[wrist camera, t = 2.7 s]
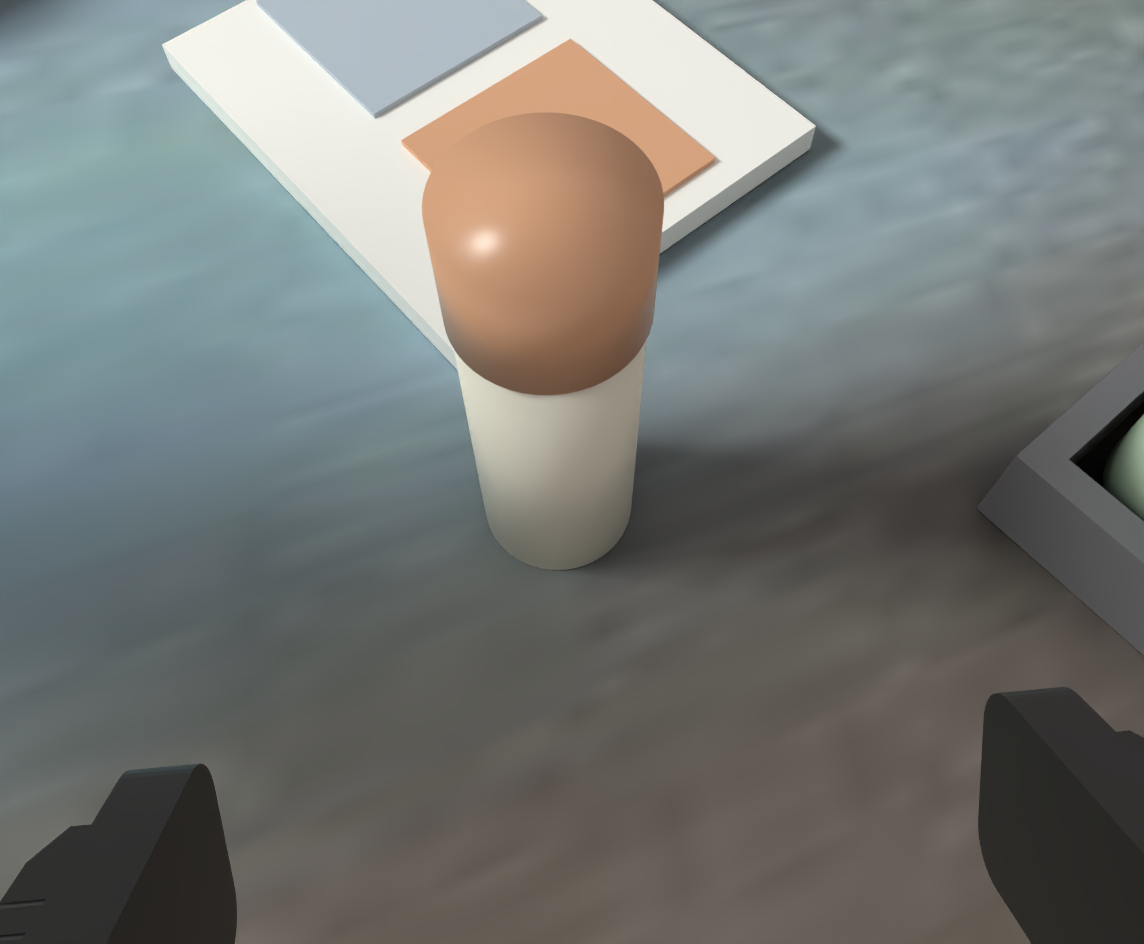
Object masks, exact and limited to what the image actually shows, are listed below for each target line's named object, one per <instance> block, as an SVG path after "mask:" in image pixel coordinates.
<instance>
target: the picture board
mask: <svg viewBox="0 0 1144 944" xmlns="http://www.w3.org/2000/svg"><path fill="white" fill-rule="evenodd" d="M162 46H163V49H164V51H165V53H166V56H167V58H168V60H169V63H170V65H171V67H172V69H173V70H174V71H175V72H176V73H177V74H178V75H179V76H180V77H181V78H182V79H183V81H184V82H185V83H186V84H187V85H188V86H189V87H190V88H191V89H192V90H193V91H194V92H195V93H196V94H197V95H198V96H199V97H200V98H201V100H202V101H203V102H204V103H205V104H206V105H207V106H208V107H209V108H210V109H211V110H212V111H213V112H214V113H215V114H216V115H217V116H218V117H219V119H220V120H221V121H222V122H223V123H224V124H225V125H226V126H227V127H228V128H229V129H230V130H231V131H232V132H233V133H234V134H235V135H236V136H237V138H238V139H239V140H240V141H241V142H242V143H243V144H244V145H245V146H246V147H247V148H248V149H249V150H250V151H251V152H252V153H253V154H254V156H255V157H256V158H257V159H258V160H259V161H260V162H261V163H262V164H263V165H264V166H265V167H266V168H267V169H268V170H269V171H270V172H271V173H272V175H273V176H274V177H275V178H276V179H277V180H278V181H279V182H280V183H281V184H282V185H283V186H284V187H285V188H286V189H287V190H288V191H289V192H290V194H291V195H292V196H293V197H294V198H295V199H296V200H297V201H298V202H299V203H300V204H301V205H302V206H303V207H304V208H305V209H306V210H307V212H308V213H309V214H310V215H311V216H312V217H313V218H314V219H315V220H316V221H317V222H318V223H319V224H320V225H321V226H322V227H323V228H324V229H325V231H326V232H327V233H328V234H329V235H330V236H331V237H332V238H333V239H334V240H335V241H336V242H337V243H338V244H339V245H340V246H341V247H342V248H343V250H344V251H345V252H346V253H347V254H348V255H349V256H350V257H351V258H352V259H353V260H354V261H355V262H356V263H357V264H358V265H359V266H360V268H361V269H362V270H363V271H364V272H365V273H366V274H367V275H368V276H369V277H370V278H371V279H372V280H373V281H374V282H375V283H376V284H377V285H378V287H379V288H380V289H381V290H382V291H383V292H384V293H385V294H386V295H387V296H388V297H389V298H390V299H391V300H392V301H393V302H394V303H395V304H396V306H397V307H398V308H399V309H400V310H401V311H402V312H403V313H404V314H405V315H406V316H407V317H408V318H409V319H410V320H411V321H412V322H413V324H414V325H415V326H416V327H417V328H418V329H419V330H420V331H421V332H422V333H423V334H424V335H425V336H426V337H427V338H428V339H429V340H430V341H431V343H432V344H433V345H434V346H435V347H436V348H437V349H438V350H439V351H440V352H441V353H442V354H443V355H444V356H445V357H446V358H447V359H448V360H449V362H450V363H451V364H452V365H453V366H454V367H455V368H456V369H457V370H458V368H457V363H456V358H455V353H454V348H453V347H452V345H451V343H450V341H449V339H448V336H447V334H446V331H445V327H444V323H443V318H442V313H441V308H440V303H439V298H438V293H437V288H436V283H435V278H434V273H433V268H432V263H431V258H430V253H429V248H428V243H427V238H426V234H425V229H424V224H423V219H422V199H423V193H424V189H425V185H426V182H427V180H428V178H429V175H430V173H431V171H432V169H433V168H434V166H435V165H436V163H437V162H438V160H439V159H440V158H441V157H442V156H443V154H444V153H445V152H446V151H447V150H448V149H449V148H450V147H451V146H452V145H454V144H455V143H456V142H457V141H458V140H460V139H461V138H463V137H464V136H465V135H467V134H468V133H470V132H472V131H474V130H476V129H477V128H479V127H481V126H484V125H486V124H488V123H491V122H493V121H496V120H499V119H503V118H506V117H510V116H515V115H520V114H528V113H539V112H547V113H563V114H571V115H576V116H581V117H585V118H588V119H591V120H595V121H598V122H600V123H602V124H605V125H607V126H609V127H611V128H613V129H615V130H617V131H618V132H620V133H622V134H623V135H625V136H626V137H627V138H629V139H630V140H631V141H633V142H634V143H635V144H636V145H637V146H638V147H639V148H640V149H641V150H642V151H643V152H644V153H645V154H646V156H647V157H648V158H649V160H650V161H651V162H652V164H653V166H654V168H655V169H656V171H657V173H658V176H659V179H660V181H661V184H662V189H663V194H664V215H663V226H662V236H661V246H660V253H662V252H663V251H665V250H666V249H668V248H669V247H670V246H672V245H673V244H675V243H676V242H678V241H679V240H680V239H682V238H683V237H685V236H686V235H688V234H689V233H691V232H692V231H693V230H695V229H696V228H698V227H699V226H701V225H702V224H703V223H705V222H706V221H708V220H709V219H711V218H712V217H713V216H715V215H716V214H718V213H719V212H721V211H722V210H723V209H725V208H726V207H728V206H729V205H731V204H732V203H733V202H735V201H736V200H738V199H739V198H741V197H742V196H743V195H745V194H746V193H748V192H749V191H751V190H752V189H753V188H755V187H756V186H758V185H759V184H761V183H762V182H763V181H765V180H766V179H768V178H769V177H771V176H772V175H773V174H775V173H776V172H778V171H779V170H781V169H782V168H783V167H785V166H786V165H788V164H789V163H791V162H792V161H793V160H795V159H796V158H798V157H799V156H801V155H802V154H803V153H805V152H806V151H808V150H809V149H810V147H811V143H812V139H813V136H814V132H815V128H816V126H815V125H814V124H813V123H811V122H810V121H809V120H807V119H806V118H805V117H804V116H802V115H801V114H800V113H798V112H797V111H796V110H794V109H793V108H792V107H791V106H789V105H788V104H787V103H785V102H784V101H783V100H781V99H780V98H779V97H778V96H776V95H775V94H774V93H772V92H771V91H770V90H768V89H767V88H766V87H765V86H763V85H762V84H761V83H759V82H758V81H757V80H755V79H754V78H753V77H752V76H750V75H749V74H748V73H746V72H745V71H744V70H742V69H741V68H740V67H739V66H737V65H736V64H735V63H733V62H732V61H731V60H729V59H728V58H727V57H726V56H724V55H723V54H722V53H720V52H719V51H718V50H716V49H715V48H714V47H713V46H711V45H710V44H709V43H707V42H706V41H705V40H703V39H702V38H701V37H700V36H698V35H697V34H696V33H694V32H693V31H692V30H690V29H689V28H688V27H687V26H685V25H684V24H683V23H681V22H680V21H679V20H677V19H676V18H675V17H674V16H672V15H671V14H670V13H668V12H667V11H666V10H664V9H663V8H662V7H661V6H659V5H658V4H657V3H655V2H654V1H653V0H246V1H244V2H242V3H240V4H238V5H237V6H235V7H233V8H231V9H229V10H227V11H225V12H223V13H221V14H219V15H218V16H216V17H214V18H212V19H210V20H208V21H206V22H204V23H202V24H200V25H199V26H197V27H195V28H193V29H191V30H189V31H187V32H185V33H183V34H181V35H180V36H178V37H176V38H174V39H172V40H170V41H168V42H166V43H164V44H162Z"/></svg>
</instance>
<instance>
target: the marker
mask: <svg viewBox="0 0 1144 944" xmlns="http://www.w3.org/2000/svg"><path fill="white" fill-rule="evenodd" d="M663 215H664V194H663V189H662V184H661V181H660V179H659V176H658V173H657V171H656V169H655V168H654V166H653V164H652V162H651V161H650V160H649V158H648V157H647V156H646V154H645V153H644V152H643V151H642V150H641V149H640V148H639V147H638V146H637V145H636V144H635V143H634V142H633V141H631V140H630V139H629V138H627V137H626V136H625V135H623V134H622V133H620V132H618V131H617V130H615V129H613V128H611V127H609V126H607V125H605V124H602V123H600V122H598V121H595V120H591V119H588V118H585V117H581V116H576V115H571V114H563V113H547V112H539V113H528V114H520V115H515V116H510V117H506V118H503V119H499V120H496V121H493V122H491V123H488V124H486V125H484V126H481V127H479V128H477V129H476V130H474V131H472V132H470V133H468V134H467V135H465V136H464V137H463V138H461V139H460V140H458V141H457V142H456V143H455V144H454V145H452V146H451V147H450V148H449V149H448V150H447V151H446V152H445V153H444V154H443V156H442V157H441V158H440V159H439V160H438V162H437V163H436V165H435V166H434V168H433V169H432V171H431V173H430V175H429V178H428V180H427V182H426V185H425V189H424V193H423V199H422V219H423V224H424V229H425V234H426V238H427V243H428V248H429V253H430V258H431V263H432V268H433V273H434V278H435V283H436V288H437V293H438V298H439V303H440V308H441V313H442V318H443V323H444V327H445V331H446V334H447V336H448V339H449V341H450V343H451V345H452V347H453V348H454V353H455V358H456V363H457V368H458V373H459V379H460V384H461V389H462V394H463V399H464V404H465V410H466V415H467V420H468V425H469V430H470V435H471V440H472V446H473V451H474V456H475V461H476V466H477V471H478V476H479V482H480V487H481V492H482V497H483V502H484V507H485V513H486V517H487V521H488V524H489V527H490V530H491V532H492V534H493V535H494V537H495V539H496V540H497V541H498V543H499V544H500V545H501V546H502V547H503V548H504V549H505V550H506V551H507V552H508V553H509V554H510V555H512V556H513V557H514V558H516V559H518V560H520V561H521V562H523V563H526V564H528V565H531V566H533V567H537V568H541V569H548V570H567V569H574V568H578V567H582V566H584V565H587V564H590V563H592V562H594V561H596V560H598V559H599V558H601V557H602V556H604V555H605V554H606V553H608V552H609V551H610V550H611V549H612V548H613V547H614V546H615V545H616V543H617V542H618V541H619V540H620V538H621V537H622V535H623V533H624V532H625V529H626V527H627V525H628V522H629V518H630V514H631V506H632V495H633V484H634V473H635V462H636V451H637V440H638V429H639V417H640V406H641V395H642V384H643V373H644V362H645V351H646V340H647V337H648V335H649V333H650V329H651V326H652V323H653V316H654V308H655V298H656V287H657V277H658V267H659V256H660V246H661V236H662V226H663Z"/></svg>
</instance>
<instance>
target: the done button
mask: <svg viewBox="0 0 1144 944" xmlns="http://www.w3.org/2000/svg"><path fill="white" fill-rule="evenodd" d="M1103 488H1104V489H1105V490H1106V491H1108V492H1109V493H1110V494H1111V495H1112V496H1114V497H1115V498H1116V499H1117V500H1119V501H1120V502H1121V503H1122V504H1123V505H1125V506H1126V507H1127V508H1128V509H1129V510H1131V511H1132V512H1133V513H1134V514H1135V515H1137V516H1138V517H1139V518H1140V519H1142V520H1143V521H1144V414H1143V415H1142V416H1141V417H1140V419H1139V420H1138V421H1137V422H1136V423H1135V424H1134V425H1133V426H1132V427H1131V428H1130V429H1129V431H1128V432H1127V433H1126V434H1125V435H1124V436H1123V437H1122V438H1121V439H1120V440H1119V441H1118V443H1117V444H1116V445H1115V446H1114V447H1113V449H1112V450H1111V452H1110V453H1109V455H1108V458H1107V460H1106V463H1105V467H1104V471H1103Z"/></svg>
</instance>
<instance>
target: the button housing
mask: <svg viewBox="0 0 1144 944" xmlns="http://www.w3.org/2000/svg"><path fill="white" fill-rule="evenodd" d="M1141 404H1142V405H1143V406H1144V342H1143V343H1142V344H1141V345H1140V346H1139V347H1138V348H1137V349H1135V350H1134V351H1133V352H1132V353H1131V354H1130V355H1129V356H1128V357H1126V358H1125V359H1124V360H1123V361H1122V362H1121V363H1120V364H1119V365H1117V366H1116V367H1115V368H1114V369H1113V370H1112V371H1111V372H1110V373H1108V374H1107V375H1106V376H1105V377H1104V378H1103V379H1102V380H1101V381H1099V382H1098V383H1097V384H1096V385H1095V386H1094V387H1093V388H1092V389H1090V390H1089V391H1088V392H1087V393H1086V394H1085V395H1084V396H1083V397H1081V398H1080V399H1079V400H1078V401H1077V402H1076V403H1075V404H1074V405H1072V406H1071V407H1070V408H1069V409H1068V410H1067V411H1066V412H1065V413H1063V414H1062V415H1061V416H1060V417H1059V418H1058V419H1057V420H1056V421H1054V422H1053V423H1052V424H1051V425H1050V426H1049V427H1048V428H1047V429H1045V430H1044V431H1043V432H1042V433H1041V434H1040V435H1039V436H1038V437H1036V438H1035V439H1034V440H1033V441H1032V442H1031V443H1030V444H1029V445H1027V446H1026V447H1025V448H1024V449H1023V450H1022V451H1021V452H1020V453H1018V454H1017V455H1016V456H1015V458H1014V459H1013V460H1012V462H1011V463H1010V464H1009V466H1008V467H1007V468H1006V470H1005V471H1004V472H1003V473H1002V475H1001V476H1000V477H999V479H998V480H997V481H996V483H995V484H994V485H993V487H992V488H991V489H990V491H989V492H988V493H987V495H986V496H985V497H984V499H983V500H982V501H981V502H980V504H979V505H978V506H977V509H978V510H979V511H980V512H981V513H982V514H984V515H985V516H986V517H987V518H988V519H989V520H990V521H991V522H993V523H994V524H995V525H996V526H997V527H998V528H999V529H1001V530H1002V531H1003V532H1004V533H1005V534H1006V535H1007V536H1008V537H1010V538H1011V539H1012V540H1013V541H1014V542H1015V543H1016V544H1018V545H1019V546H1020V547H1021V548H1022V549H1023V550H1024V551H1026V552H1027V553H1028V554H1029V555H1030V556H1031V557H1032V558H1033V559H1035V560H1036V561H1037V562H1038V563H1039V564H1040V565H1041V566H1043V567H1044V568H1045V569H1046V570H1047V571H1048V572H1049V573H1051V574H1052V575H1053V576H1054V577H1055V578H1056V579H1057V580H1058V581H1060V582H1061V583H1062V584H1063V585H1064V586H1065V587H1066V588H1068V589H1069V590H1070V591H1071V592H1072V593H1073V594H1074V595H1076V596H1077V597H1078V598H1079V599H1080V600H1081V601H1082V602H1083V603H1085V604H1086V605H1087V606H1088V607H1089V608H1090V609H1091V610H1093V611H1094V612H1095V613H1096V614H1097V615H1098V616H1099V617H1100V618H1102V619H1103V620H1104V621H1105V622H1106V623H1107V624H1108V625H1110V626H1111V627H1112V628H1113V629H1114V630H1115V631H1116V632H1118V633H1119V634H1120V635H1121V636H1122V637H1123V638H1124V639H1125V640H1127V641H1128V642H1129V643H1130V644H1131V645H1132V646H1133V647H1135V648H1136V649H1137V650H1138V651H1139V652H1140V653H1141V654H1143V655H1144V521H1143V520H1142V519H1140V518H1139V517H1138V516H1137V515H1135V514H1134V513H1133V512H1132V511H1131V510H1129V509H1128V508H1127V507H1126V506H1125V505H1123V504H1122V503H1121V502H1120V501H1119V500H1117V499H1116V498H1115V497H1114V496H1112V495H1111V494H1110V493H1109V492H1108V491H1106V490H1105V489H1104V488H1103V487H1102V486H1100V485H1099V484H1098V483H1097V482H1096V481H1094V480H1093V479H1092V478H1091V477H1090V476H1088V475H1087V474H1086V473H1085V472H1083V471H1082V470H1081V469H1080V468H1079V467H1077V466H1076V465H1075V464H1076V463H1077V462H1079V461H1080V460H1081V459H1082V458H1083V457H1084V456H1085V455H1086V454H1087V453H1088V452H1089V451H1091V450H1092V449H1093V448H1094V447H1095V446H1096V445H1097V444H1098V443H1099V442H1100V441H1101V440H1103V439H1104V438H1105V437H1106V436H1107V435H1108V434H1109V433H1110V432H1111V431H1112V430H1113V429H1115V428H1116V427H1117V426H1118V425H1119V424H1120V423H1121V422H1122V421H1123V420H1124V419H1125V418H1127V417H1128V416H1129V415H1130V414H1131V413H1132V412H1133V411H1134V410H1135V409H1136V408H1137V407H1139V406H1140V405H1141Z"/></svg>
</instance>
